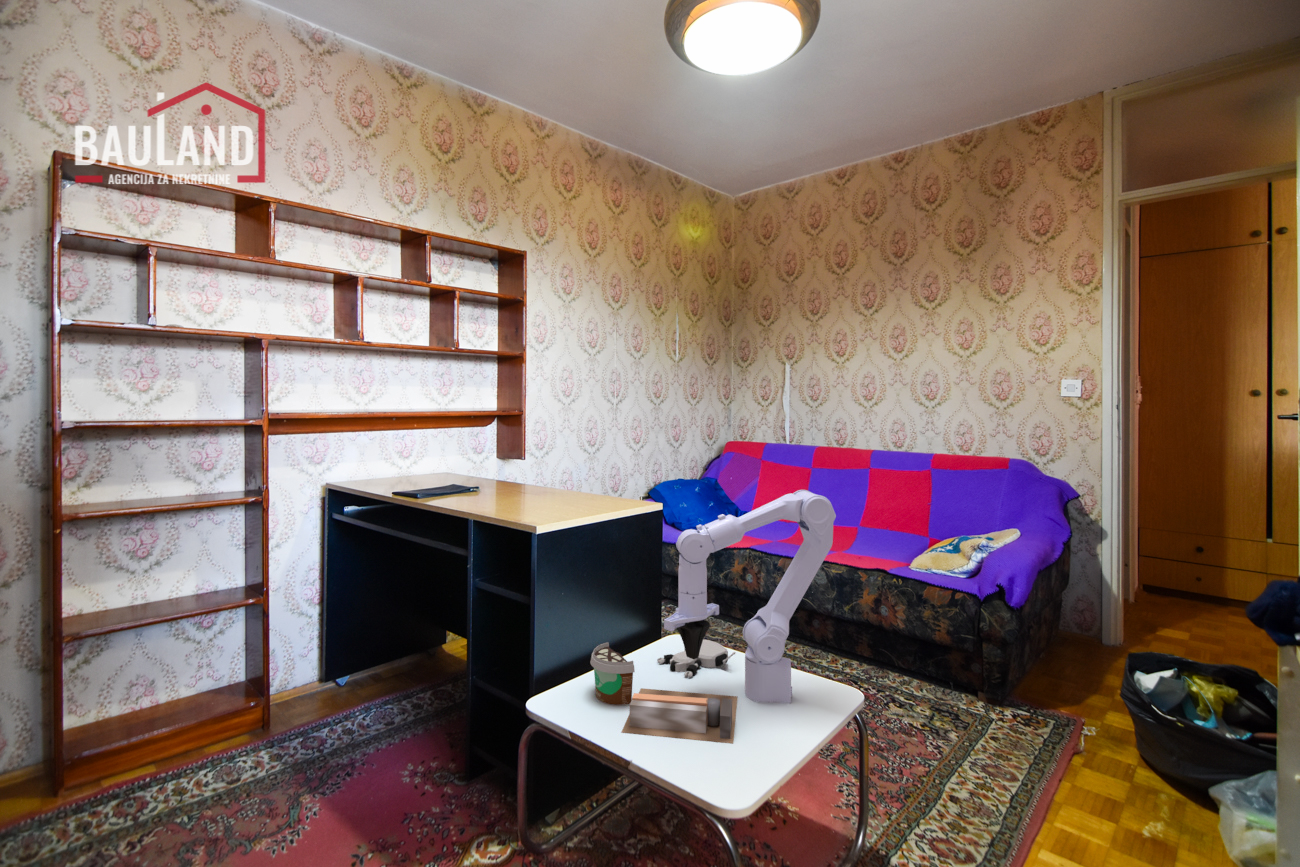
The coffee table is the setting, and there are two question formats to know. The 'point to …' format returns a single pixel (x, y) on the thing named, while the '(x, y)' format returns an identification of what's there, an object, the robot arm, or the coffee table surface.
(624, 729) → the tong board
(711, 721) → the tong arm
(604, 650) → the food container
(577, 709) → the coffee table surface
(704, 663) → the robot toy
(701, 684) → the coffee table surface
